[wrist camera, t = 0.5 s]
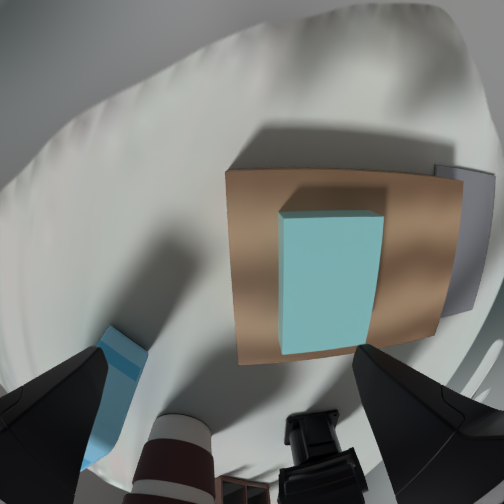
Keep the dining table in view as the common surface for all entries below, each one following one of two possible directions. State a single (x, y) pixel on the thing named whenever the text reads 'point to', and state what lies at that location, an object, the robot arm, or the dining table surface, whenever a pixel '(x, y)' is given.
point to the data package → (114, 392)
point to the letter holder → (240, 491)
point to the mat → (469, 237)
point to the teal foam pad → (327, 278)
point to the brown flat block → (391, 258)
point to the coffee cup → (175, 464)
